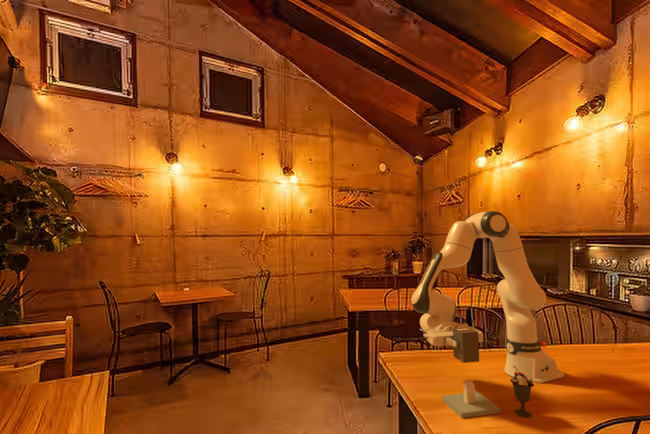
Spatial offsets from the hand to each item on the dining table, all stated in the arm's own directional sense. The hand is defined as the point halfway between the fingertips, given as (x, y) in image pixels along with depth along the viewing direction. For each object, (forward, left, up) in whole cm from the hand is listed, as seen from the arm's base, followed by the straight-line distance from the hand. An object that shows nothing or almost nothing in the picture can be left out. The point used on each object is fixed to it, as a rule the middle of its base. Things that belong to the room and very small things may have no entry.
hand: (467, 343), depth 116 cm
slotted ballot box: (0, -1, -5) cm, 6 cm away
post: (0, 0, -21) cm, 21 cm away
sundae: (-14, +8, -21) cm, 27 cm away
